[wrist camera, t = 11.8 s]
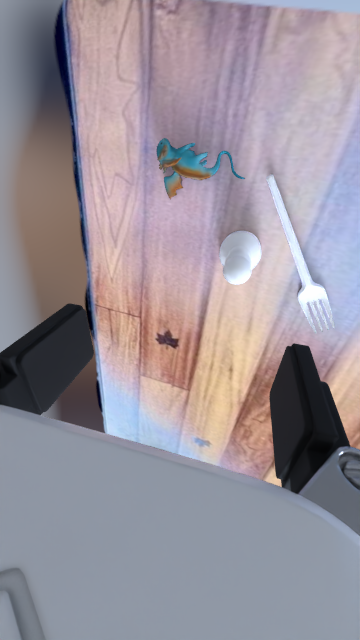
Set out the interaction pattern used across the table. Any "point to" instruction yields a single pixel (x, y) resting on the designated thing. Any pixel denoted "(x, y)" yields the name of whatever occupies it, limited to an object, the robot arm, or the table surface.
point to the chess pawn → (239, 256)
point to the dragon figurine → (185, 165)
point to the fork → (301, 266)
